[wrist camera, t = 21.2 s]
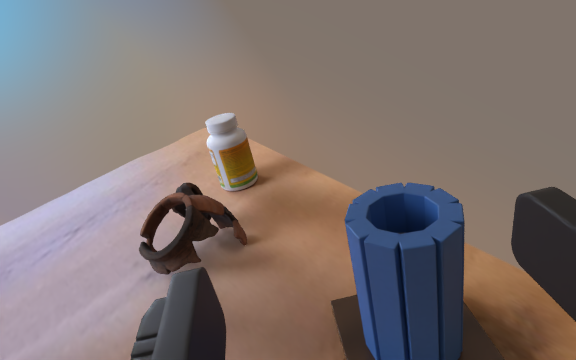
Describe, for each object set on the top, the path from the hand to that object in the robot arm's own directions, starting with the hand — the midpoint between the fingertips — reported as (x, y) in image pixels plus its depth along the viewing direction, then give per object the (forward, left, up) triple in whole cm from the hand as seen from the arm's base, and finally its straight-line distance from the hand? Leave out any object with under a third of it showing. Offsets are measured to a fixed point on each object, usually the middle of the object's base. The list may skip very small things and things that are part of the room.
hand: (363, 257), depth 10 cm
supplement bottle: (+24, +33, -17) cm, 45 cm away
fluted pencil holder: (+9, +3, -16) cm, 18 cm away
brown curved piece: (+11, +27, -17) cm, 34 cm away
